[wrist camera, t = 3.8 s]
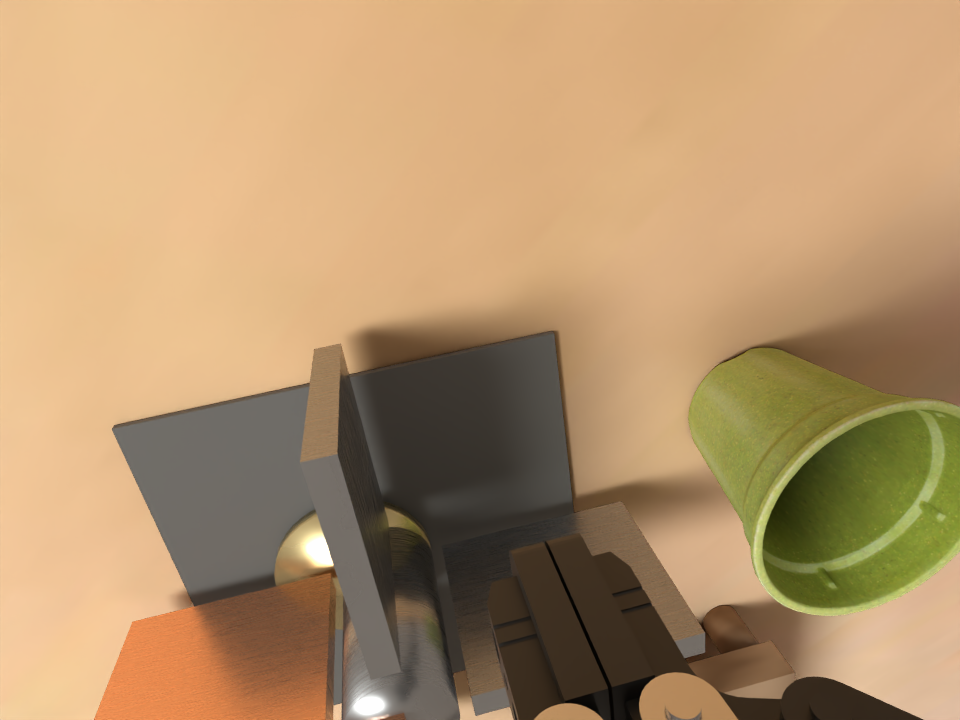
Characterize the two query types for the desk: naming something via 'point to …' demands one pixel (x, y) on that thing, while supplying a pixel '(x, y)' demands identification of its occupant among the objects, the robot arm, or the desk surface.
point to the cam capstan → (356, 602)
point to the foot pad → (395, 455)
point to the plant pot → (831, 479)
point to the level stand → (741, 659)
